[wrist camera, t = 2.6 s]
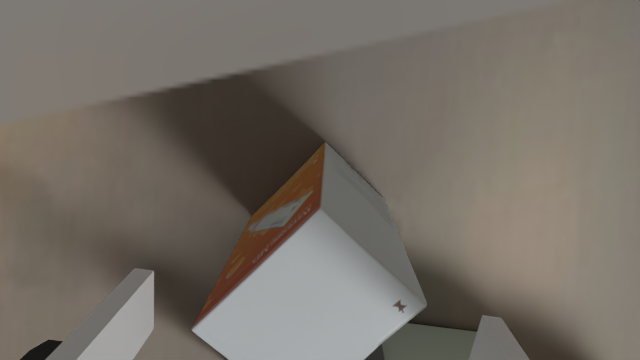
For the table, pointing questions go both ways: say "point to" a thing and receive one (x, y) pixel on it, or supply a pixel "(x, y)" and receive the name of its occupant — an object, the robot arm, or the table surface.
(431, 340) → the sliding door
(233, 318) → the small box
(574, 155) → the table surface
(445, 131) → the table surface
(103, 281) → the table surface
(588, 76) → the table surface
